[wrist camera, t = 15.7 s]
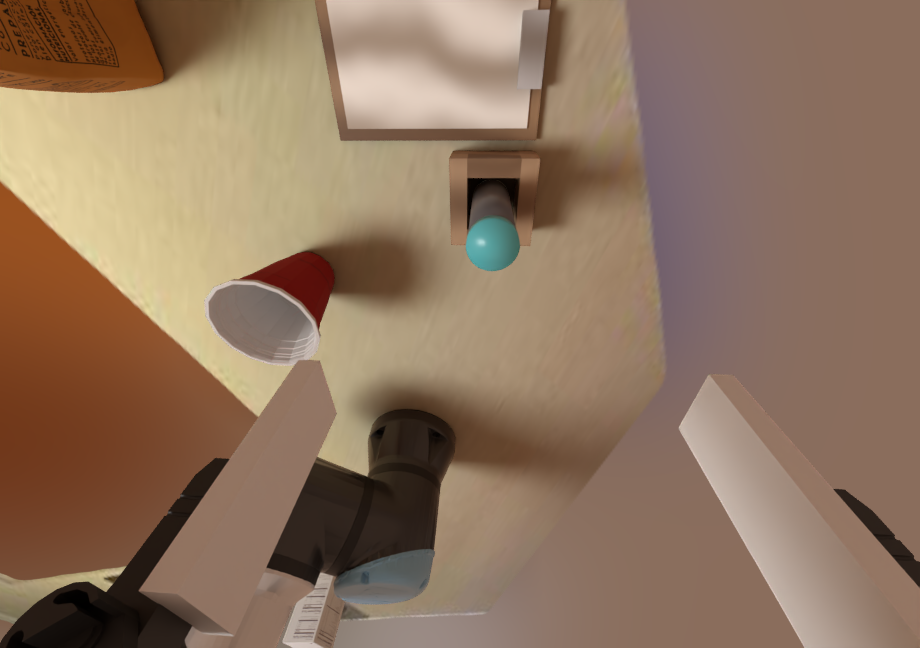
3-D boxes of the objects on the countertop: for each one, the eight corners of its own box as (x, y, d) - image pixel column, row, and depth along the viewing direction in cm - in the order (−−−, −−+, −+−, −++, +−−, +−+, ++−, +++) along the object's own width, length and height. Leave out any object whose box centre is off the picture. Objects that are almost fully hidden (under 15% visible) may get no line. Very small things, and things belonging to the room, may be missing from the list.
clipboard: (535, 139, 32) (537, 141, 31) (342, 139, 33) (336, 142, 32) (556, -59, 25) (561, -68, 24) (308, -51, 26) (297, -59, 25)
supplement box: (309, 563, 96) (280, 642, 83) (337, 561, 94) (312, 642, 81) (326, 576, 101) (301, 653, 88) (353, 575, 100) (332, 653, 86)
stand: (525, 230, 38) (530, 245, 34) (454, 229, 38) (451, 244, 34) (534, 151, 33) (540, 158, 29) (453, 150, 33) (449, 158, 30)
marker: (506, 209, 36) (517, 271, 24) (472, 209, 37) (466, 270, 24) (509, 173, 34) (522, 220, 22) (473, 173, 34) (465, 219, 22)
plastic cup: (293, 314, 46) (241, 375, 36) (252, 239, 40) (177, 288, 30) (367, 305, 45) (334, 366, 35) (337, 226, 39) (286, 272, 29)
